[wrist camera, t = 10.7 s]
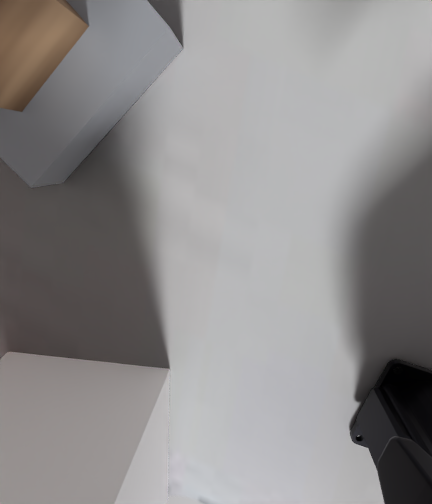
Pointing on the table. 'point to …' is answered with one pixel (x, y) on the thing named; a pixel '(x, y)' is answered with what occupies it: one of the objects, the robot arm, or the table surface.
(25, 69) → the walnut block
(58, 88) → the plate
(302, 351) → the table surface
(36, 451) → the milk
